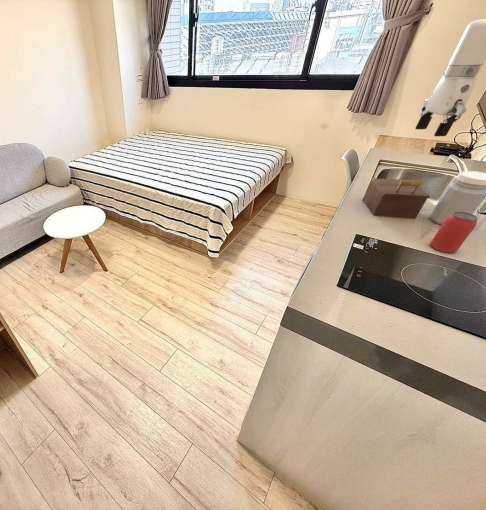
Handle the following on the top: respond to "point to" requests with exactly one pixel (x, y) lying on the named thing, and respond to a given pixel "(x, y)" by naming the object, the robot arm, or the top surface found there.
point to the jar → (461, 196)
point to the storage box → (392, 204)
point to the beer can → (454, 232)
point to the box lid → (400, 187)
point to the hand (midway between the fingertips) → (429, 132)
